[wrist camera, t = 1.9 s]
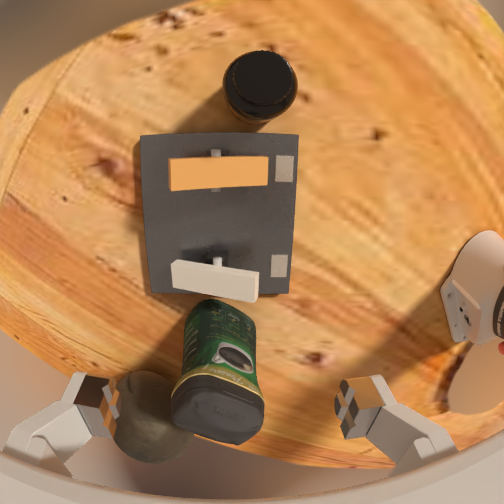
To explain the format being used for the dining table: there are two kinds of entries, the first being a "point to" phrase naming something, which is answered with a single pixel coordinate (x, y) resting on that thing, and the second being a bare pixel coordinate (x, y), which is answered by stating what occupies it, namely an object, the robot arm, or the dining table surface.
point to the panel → (220, 209)
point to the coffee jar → (218, 376)
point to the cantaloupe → (148, 419)
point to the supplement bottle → (259, 86)
